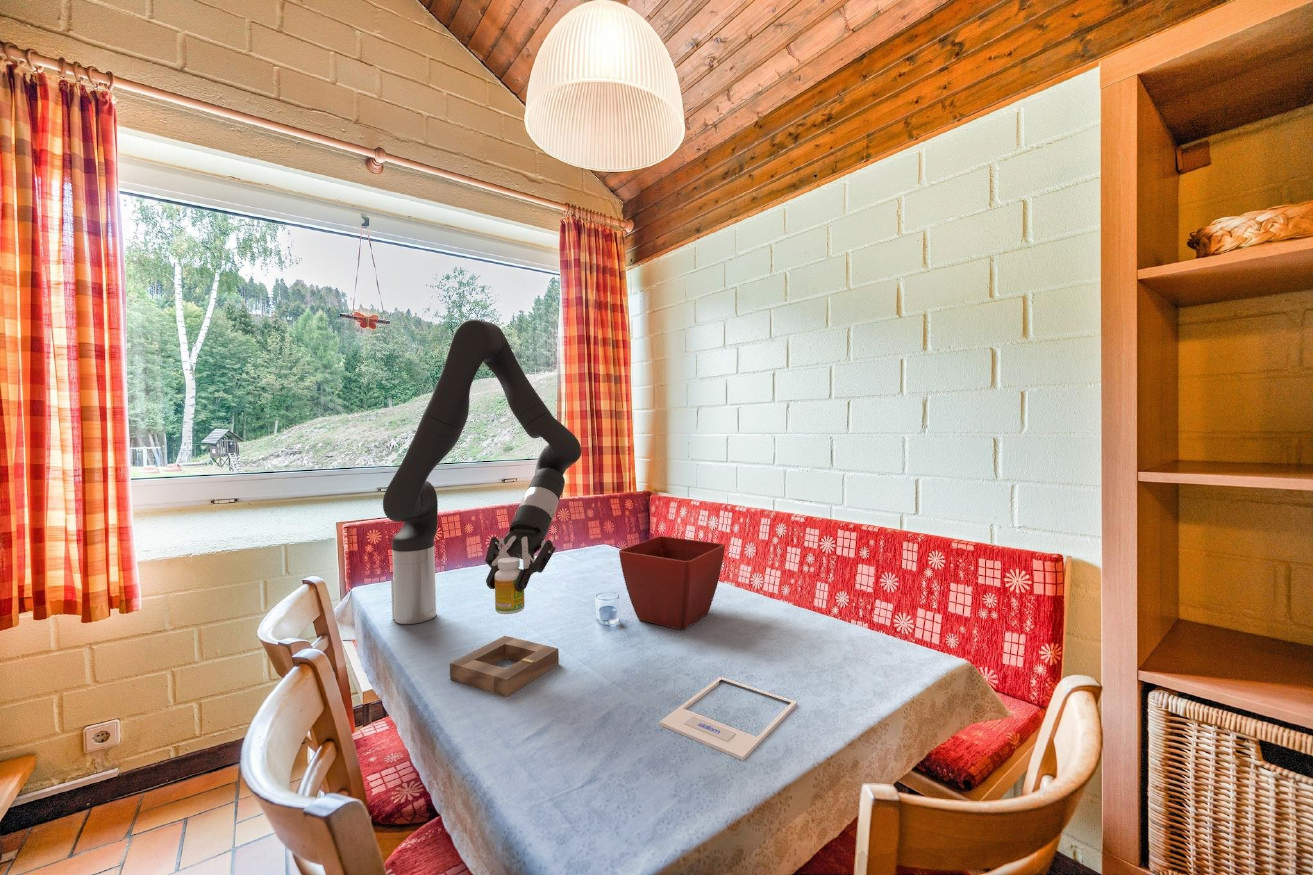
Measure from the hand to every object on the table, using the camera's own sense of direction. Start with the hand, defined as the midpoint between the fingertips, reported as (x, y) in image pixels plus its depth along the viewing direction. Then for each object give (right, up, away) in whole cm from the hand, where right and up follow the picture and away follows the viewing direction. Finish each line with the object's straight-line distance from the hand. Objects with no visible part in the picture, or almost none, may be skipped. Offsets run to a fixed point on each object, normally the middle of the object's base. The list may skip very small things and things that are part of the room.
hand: (504, 588), depth 102 cm
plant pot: (+33, -15, +27) cm, 45 cm away
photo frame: (+40, -16, -15) cm, 46 cm away
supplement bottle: (+1, -5, +2) cm, 5 cm away
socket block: (0, -16, +1) cm, 16 cm away
